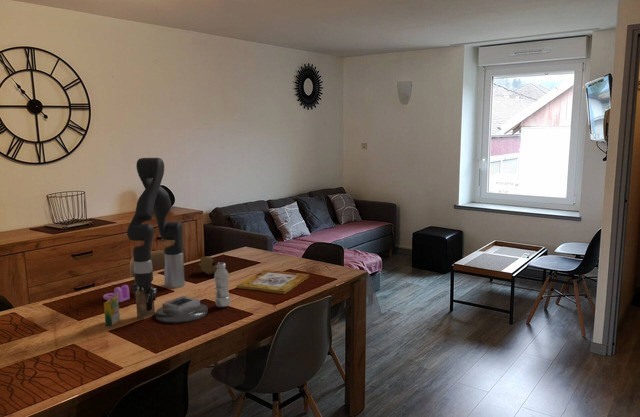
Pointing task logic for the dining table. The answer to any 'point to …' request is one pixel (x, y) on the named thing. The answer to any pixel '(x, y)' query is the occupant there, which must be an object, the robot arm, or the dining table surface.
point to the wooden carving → (208, 265)
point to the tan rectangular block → (143, 306)
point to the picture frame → (273, 281)
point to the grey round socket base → (181, 310)
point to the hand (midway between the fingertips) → (145, 309)
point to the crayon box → (111, 311)
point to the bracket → (119, 293)
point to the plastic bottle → (222, 286)
